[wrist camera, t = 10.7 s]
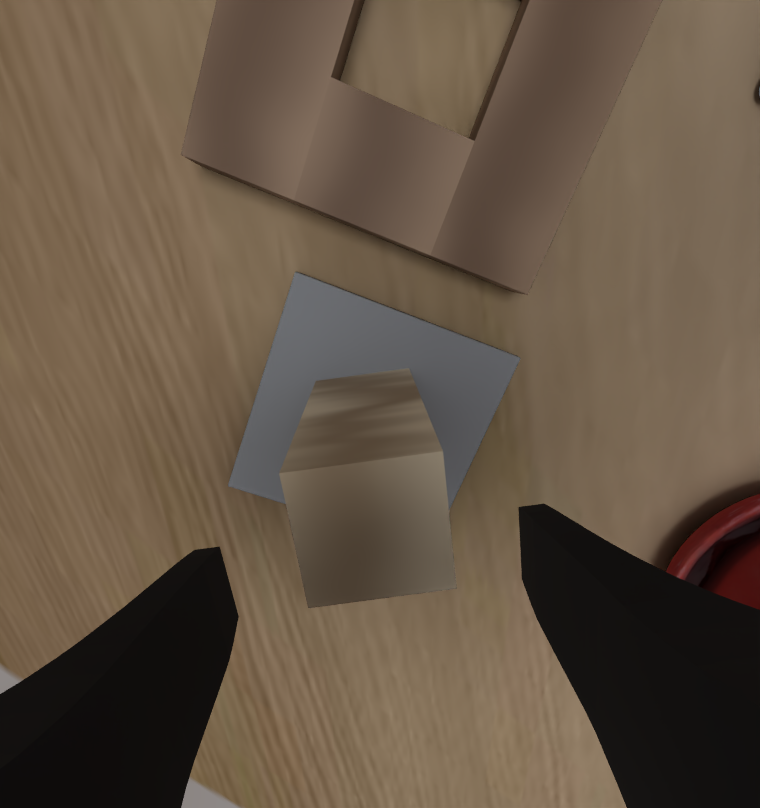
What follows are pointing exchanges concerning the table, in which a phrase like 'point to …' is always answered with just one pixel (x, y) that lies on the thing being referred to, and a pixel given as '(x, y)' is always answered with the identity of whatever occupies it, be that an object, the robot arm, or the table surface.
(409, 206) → the brown square hole board
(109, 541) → the table surface
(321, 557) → the maple plug
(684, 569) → the plant pot
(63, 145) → the table surface
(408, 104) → the table surface
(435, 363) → the pad
